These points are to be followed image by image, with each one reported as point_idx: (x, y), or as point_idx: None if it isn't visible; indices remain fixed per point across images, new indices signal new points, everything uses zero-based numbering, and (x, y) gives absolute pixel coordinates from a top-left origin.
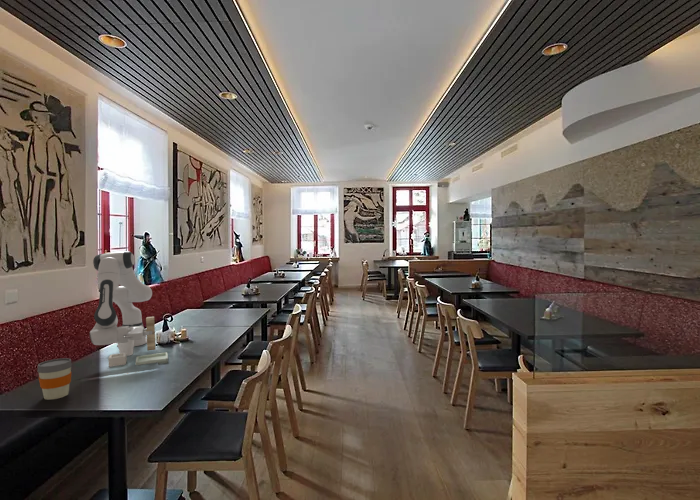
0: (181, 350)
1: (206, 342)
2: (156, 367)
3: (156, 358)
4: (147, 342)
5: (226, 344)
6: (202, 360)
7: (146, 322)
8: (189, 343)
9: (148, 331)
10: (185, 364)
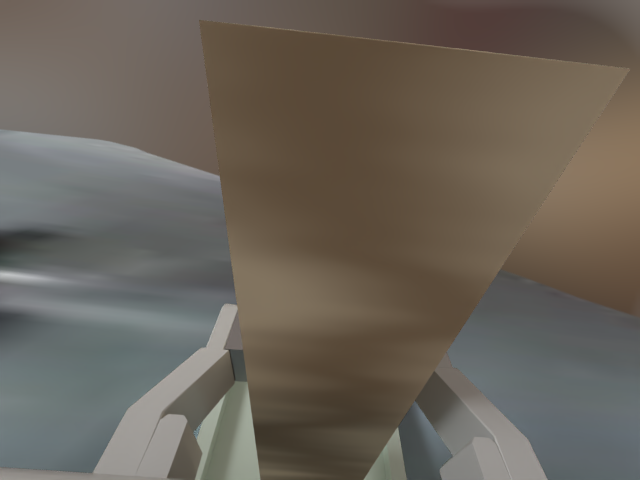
0: (158, 290)
1: (125, 207)
2: None
3: None
4: (362, 472)
5: None
6: None
7: (502, 254)
8: (51, 245)
9: (459, 372)
10: None
